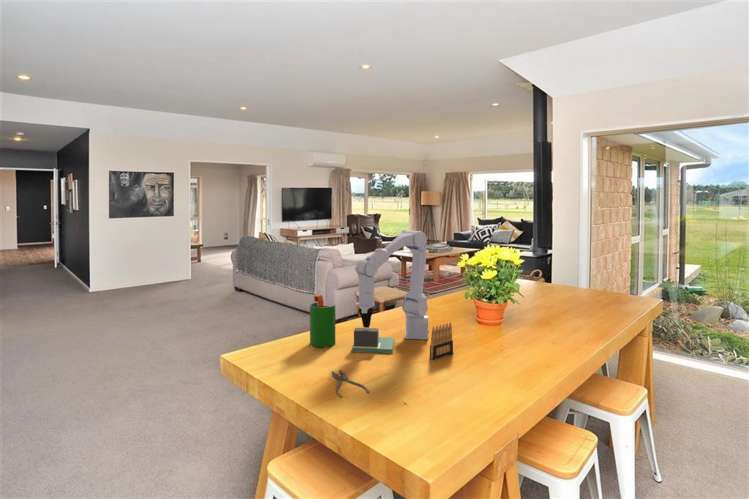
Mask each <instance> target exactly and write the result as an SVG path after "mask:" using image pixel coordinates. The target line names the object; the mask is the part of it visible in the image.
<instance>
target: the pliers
mask: <svg viewBox="0 0 749 499" xmlns="http://www.w3.org/2000/svg"><path fill="white" fill-rule="evenodd" d="M339 373H340V375H338V374H337V373H336V372H335V371H333V370H331V374H332V377H333V378H334V379H335V380H337V386H336V387H335V393H336V396H338V397H339V398H340V399H343V396H342V394H340V392H339V389H340V388H341V386H342V384H343V381H345V382H347V383H349V384H352V385H356V386H358V387H360V388H363V389H364V390H365V391H366V394H370V391H369V389H368V388H367V387H366V386H365V385H364V384H361V383H358V382H356V381H353V380H351V379H349V377H348V376H347V374H346V373H345V372H344V371H343V370H341V369H339Z"/></svg>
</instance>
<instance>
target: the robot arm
mask: <svg viewBox="0 0 749 499" xmlns="http://www.w3.org/2000/svg"><path fill="white" fill-rule="evenodd" d="M427 240H428V236H426V234H425V233H424V232H423V231H422V230H417V231H416V230H407V229H404V230H402V231H401V232H399V233H398V234H397V236H396V237H395V238H394V239H393V240H392V241H391V242H389V244H388V245H386V246H385V247H384V248H381V247H380V248H376V249H375V250H374V252H373V253H371V254H370V255H367V256H366V258H365V259H360V260H359V261H358V262H357V263H356V266H355V269H354V270H355V272H356V274H357V278H358V302H355V306H358V307H359V308H358V313H359V315H360V318H361V321H362V325H363V327H362V328H370V326H371V321H372V315H373V313H374V311H375V304H376V303H375V276H376V274H377V273H378V270H379V269H380V268H381V267H382V266H383V265H384V264H386V263H387V262H388V261H389V260H390V256H391V255H393V254H394V253H395V252H397V251H398V250H400V249H402V248H404V247H405V248H407V249H408V250H409V251H410V252H411V253H412V259H411V260H412V261H411V270H410V282H409V289H408V290H409V291H408V292H407V293H406V294H405V295H404V299H403V301H402V303H401V309H402V311H403V313H404V315H405V332H404V339H406V340H428V339H429V334H430V329H429V316H428V315H427V312H428V309H429V307H428V298H427V297H426V295H425V294H424V292H423V291H424V283H425V272H426V263H427V261H426V260H427V254H428V252H427V251H428V249H427V242H428V241H427Z"/></svg>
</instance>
